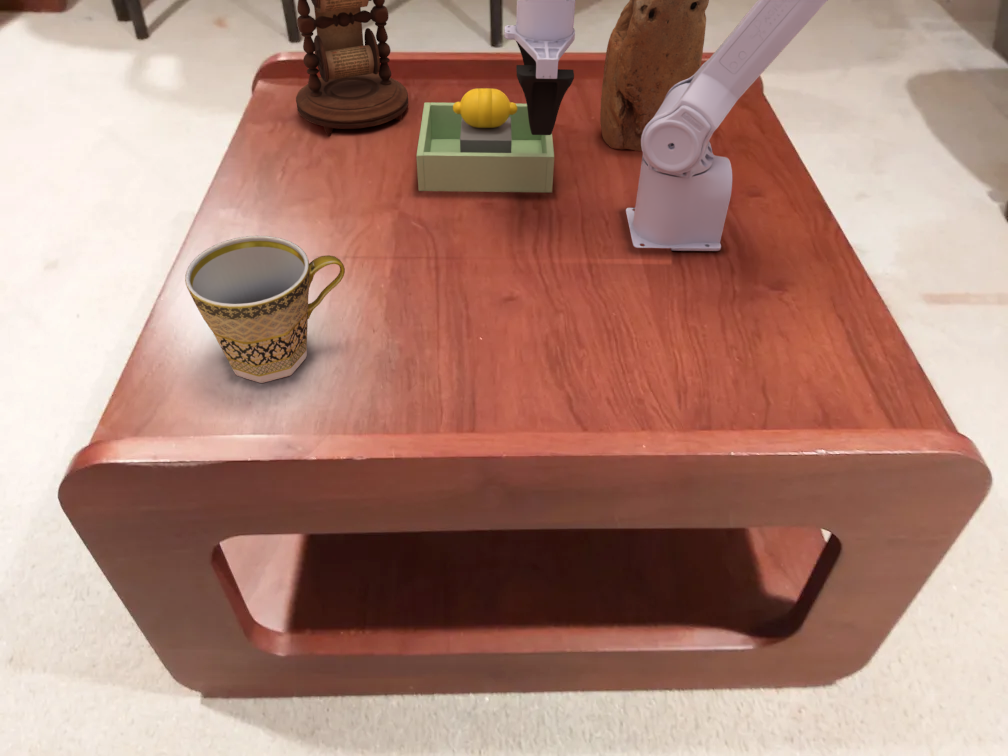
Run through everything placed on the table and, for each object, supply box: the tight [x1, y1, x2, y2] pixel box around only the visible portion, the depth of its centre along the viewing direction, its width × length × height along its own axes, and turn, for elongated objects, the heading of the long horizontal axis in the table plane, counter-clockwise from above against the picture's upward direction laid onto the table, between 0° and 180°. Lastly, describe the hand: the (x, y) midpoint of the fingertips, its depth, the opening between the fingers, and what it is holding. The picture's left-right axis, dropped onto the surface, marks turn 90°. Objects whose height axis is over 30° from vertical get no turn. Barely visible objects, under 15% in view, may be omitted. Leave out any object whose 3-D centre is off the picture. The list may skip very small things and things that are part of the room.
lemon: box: [453, 87, 517, 128], centre depth 96 cm, size 8×4×4 cm, turn 90°
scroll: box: [295, 0, 409, 136], centre depth 104 cm, size 15×15×20 cm
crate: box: [415, 101, 555, 193], centre depth 99 cm, size 16×14×5 cm
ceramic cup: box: [184, 235, 346, 384], centre depth 72 cm, size 13×10×10 cm
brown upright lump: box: [599, 0, 710, 152], centre depth 99 cm, size 11×8×20 cm
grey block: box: [460, 117, 512, 153], centre depth 99 cm, size 6×6×4 cm
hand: (539, 116), depth 88 cm, fingers open, 7 cm apart
